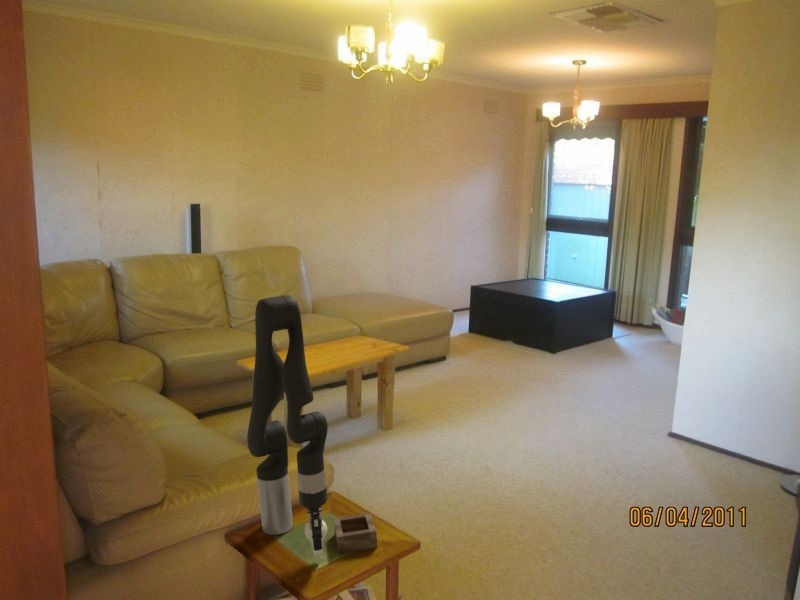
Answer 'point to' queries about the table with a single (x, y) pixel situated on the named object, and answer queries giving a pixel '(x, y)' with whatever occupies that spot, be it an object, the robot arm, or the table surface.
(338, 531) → the socket block
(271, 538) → the table surface
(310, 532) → the lightbulb
